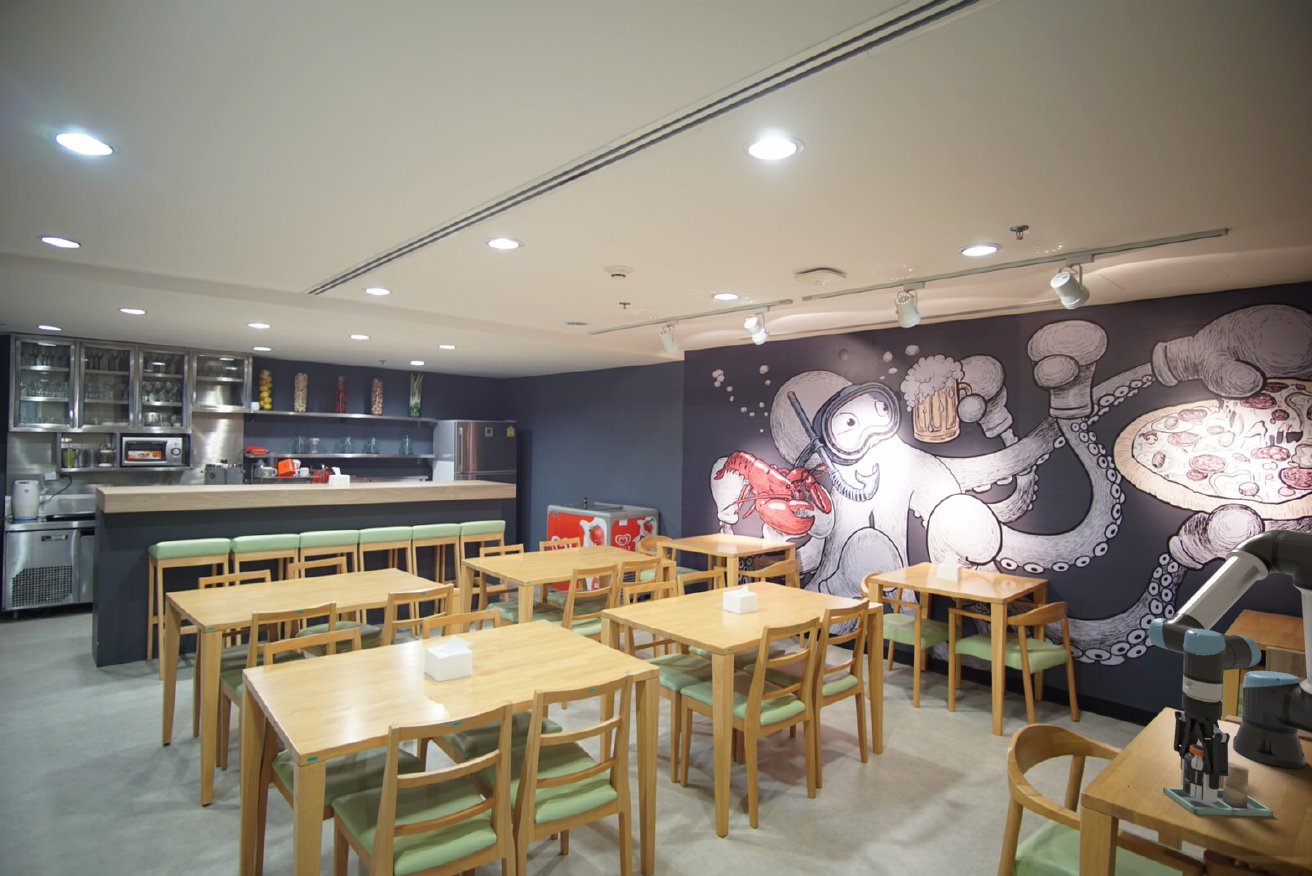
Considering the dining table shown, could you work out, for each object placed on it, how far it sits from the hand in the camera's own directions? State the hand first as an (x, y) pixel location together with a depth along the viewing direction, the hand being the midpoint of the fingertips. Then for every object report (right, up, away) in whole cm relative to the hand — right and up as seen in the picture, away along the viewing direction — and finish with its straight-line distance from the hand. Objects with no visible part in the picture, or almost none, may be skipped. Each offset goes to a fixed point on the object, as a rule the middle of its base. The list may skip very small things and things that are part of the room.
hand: (1198, 792), depth 164 cm
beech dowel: (+9, -3, 0) cm, 9 cm away
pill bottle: (0, -1, 0) cm, 1 cm away
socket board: (+4, -4, 0) cm, 6 cm away
